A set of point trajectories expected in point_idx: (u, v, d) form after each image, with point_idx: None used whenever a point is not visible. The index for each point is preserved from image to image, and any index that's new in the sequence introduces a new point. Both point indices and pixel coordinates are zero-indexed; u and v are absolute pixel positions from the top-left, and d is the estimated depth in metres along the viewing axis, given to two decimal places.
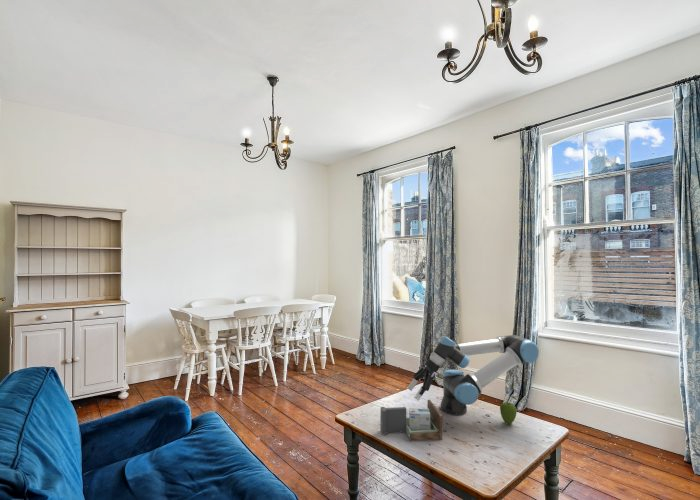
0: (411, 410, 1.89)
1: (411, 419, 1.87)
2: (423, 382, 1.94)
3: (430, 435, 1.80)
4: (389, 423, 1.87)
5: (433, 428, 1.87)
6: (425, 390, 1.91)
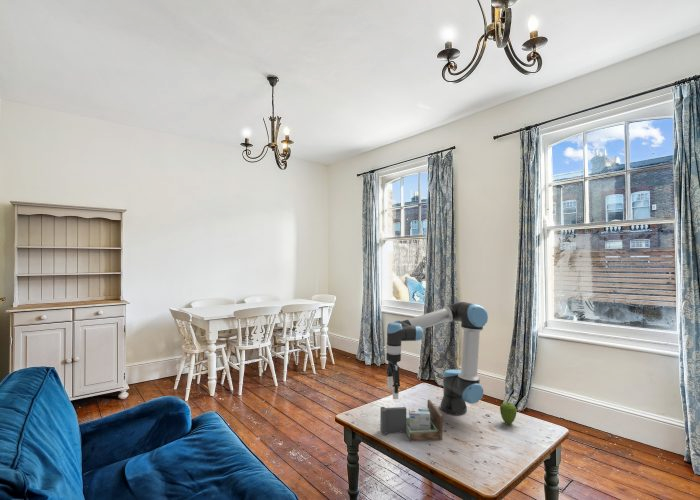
0: (411, 410, 1.89)
1: (411, 419, 1.87)
2: (393, 379, 1.83)
3: (430, 435, 1.80)
4: (389, 423, 1.87)
5: (433, 428, 1.87)
6: (397, 386, 1.80)
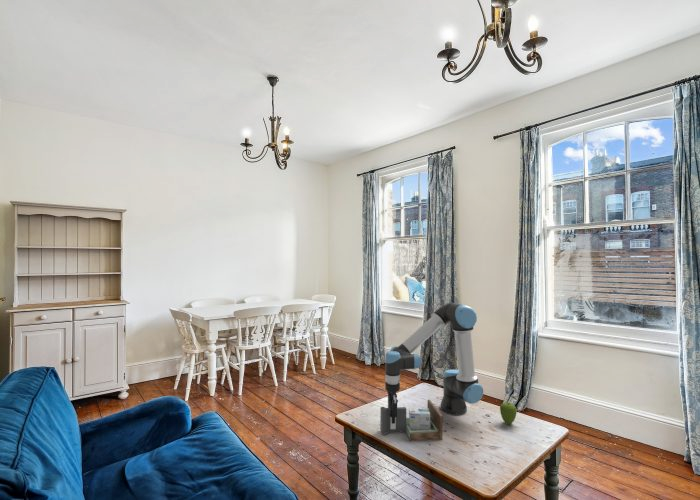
0: (411, 410, 1.89)
1: (411, 419, 1.87)
2: None
3: (430, 435, 1.80)
4: (389, 423, 1.87)
5: (433, 428, 1.87)
6: (394, 417, 1.85)
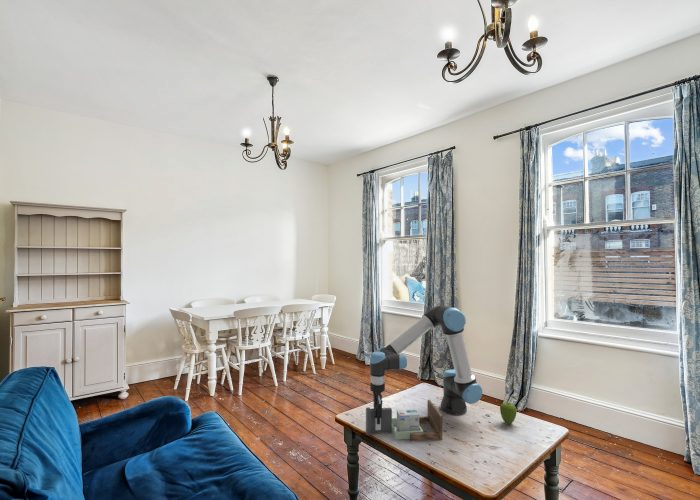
0: (400, 412, 1.87)
1: (401, 421, 1.84)
2: None
3: (430, 435, 1.80)
4: (374, 424, 1.86)
5: None
6: (379, 417, 1.84)
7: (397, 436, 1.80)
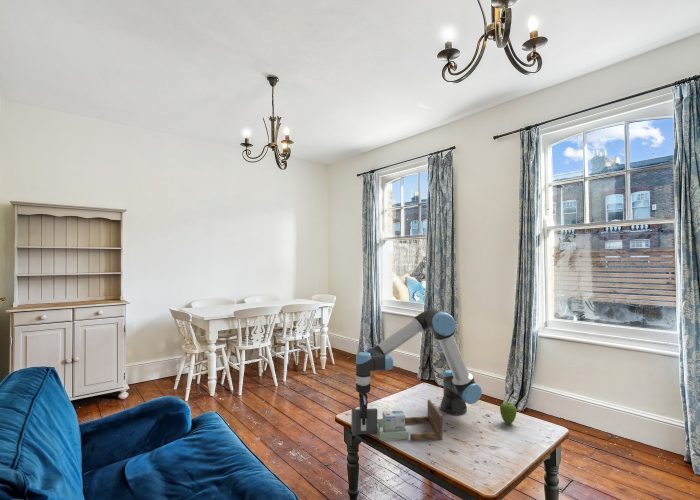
0: (385, 413, 1.86)
1: (386, 422, 1.83)
2: (361, 410, 1.85)
3: (430, 435, 1.80)
4: (360, 425, 1.85)
5: None
6: (365, 418, 1.83)
7: (382, 437, 1.79)
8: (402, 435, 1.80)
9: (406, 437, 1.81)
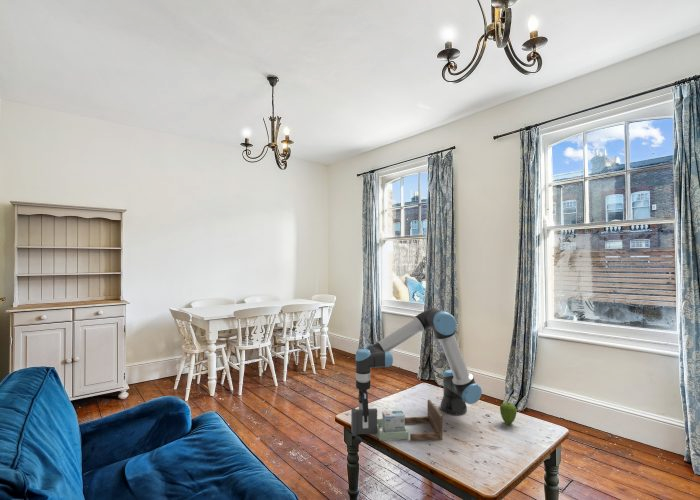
0: (385, 413, 1.86)
1: (386, 422, 1.83)
2: (362, 408, 1.81)
3: (430, 435, 1.80)
4: (360, 425, 1.85)
5: None
6: (367, 415, 1.78)
7: (382, 437, 1.79)
8: (402, 435, 1.80)
9: (406, 437, 1.81)
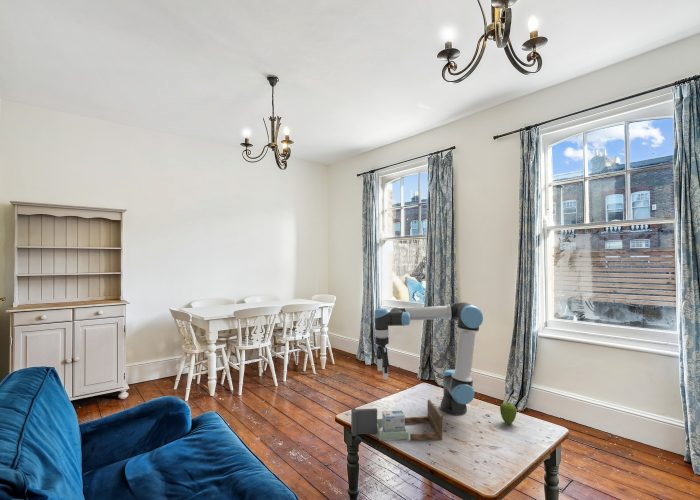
0: (385, 413, 1.86)
1: (386, 422, 1.83)
2: None
3: (430, 435, 1.80)
4: (360, 425, 1.85)
5: None
6: (387, 367, 1.94)
7: (382, 437, 1.79)
8: (402, 435, 1.80)
9: (406, 437, 1.81)
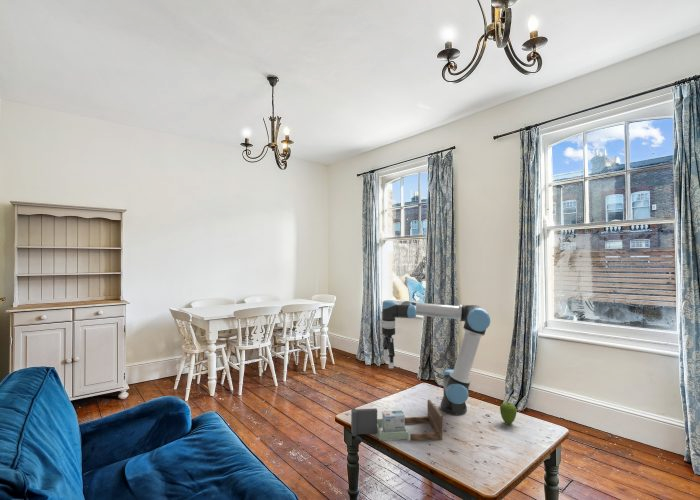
0: (385, 413, 1.86)
1: (386, 422, 1.83)
2: (388, 350, 2.04)
3: (430, 435, 1.80)
4: (360, 425, 1.85)
5: None
6: (393, 356, 2.01)
7: (382, 437, 1.79)
8: (402, 435, 1.80)
9: (406, 437, 1.81)
